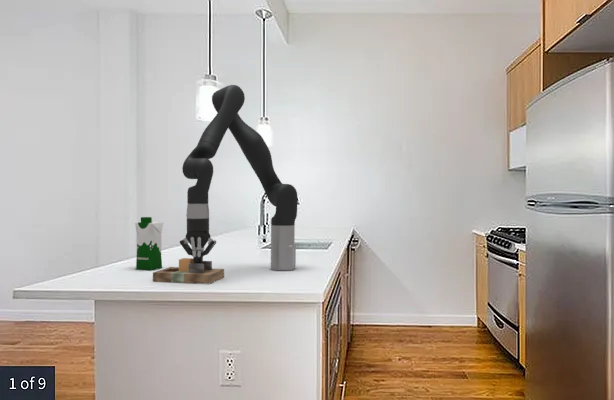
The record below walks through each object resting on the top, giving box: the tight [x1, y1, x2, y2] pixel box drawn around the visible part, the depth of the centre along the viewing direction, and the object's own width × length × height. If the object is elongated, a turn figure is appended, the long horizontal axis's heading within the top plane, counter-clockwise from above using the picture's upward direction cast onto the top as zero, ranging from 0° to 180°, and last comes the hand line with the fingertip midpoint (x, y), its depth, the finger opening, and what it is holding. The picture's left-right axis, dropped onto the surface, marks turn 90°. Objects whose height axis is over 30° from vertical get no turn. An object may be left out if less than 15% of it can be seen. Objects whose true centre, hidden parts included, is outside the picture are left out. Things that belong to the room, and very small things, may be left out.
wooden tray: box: [152, 260, 225, 284], centre depth 191 cm, size 20×14×6 cm
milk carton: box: [134, 216, 164, 271], centre depth 215 cm, size 9×9×20 cm
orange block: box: [178, 257, 193, 272], centre depth 191 cm, size 4×4×4 cm
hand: (198, 267), depth 190 cm, fingers closed
